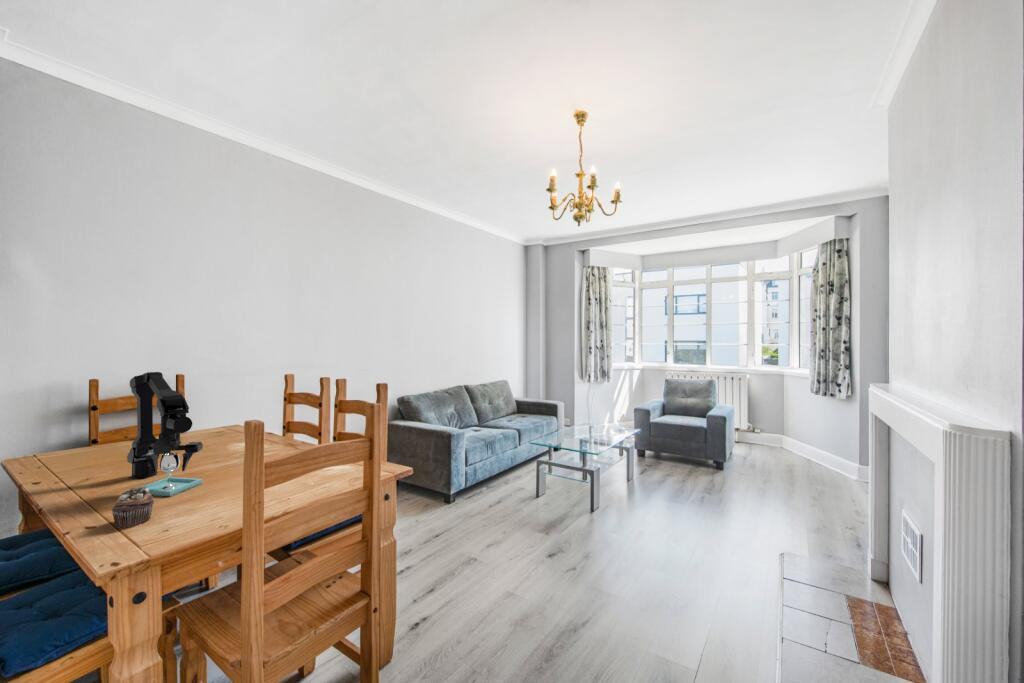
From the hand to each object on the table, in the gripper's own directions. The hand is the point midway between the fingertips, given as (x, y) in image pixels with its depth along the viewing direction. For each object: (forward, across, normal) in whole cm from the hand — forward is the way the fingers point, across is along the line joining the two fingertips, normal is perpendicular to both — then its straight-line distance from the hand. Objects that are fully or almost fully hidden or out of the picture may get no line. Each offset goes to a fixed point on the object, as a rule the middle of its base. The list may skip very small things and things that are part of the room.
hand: (169, 471), depth 159 cm
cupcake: (+6, +2, -30) cm, 31 cm away
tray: (+6, 0, 0) cm, 6 cm away
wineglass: (+6, 0, 0) cm, 6 cm away
